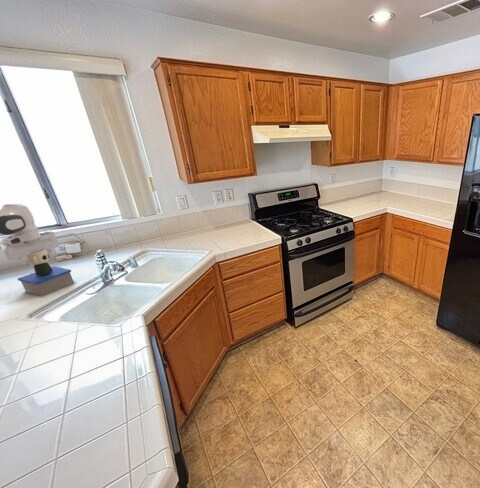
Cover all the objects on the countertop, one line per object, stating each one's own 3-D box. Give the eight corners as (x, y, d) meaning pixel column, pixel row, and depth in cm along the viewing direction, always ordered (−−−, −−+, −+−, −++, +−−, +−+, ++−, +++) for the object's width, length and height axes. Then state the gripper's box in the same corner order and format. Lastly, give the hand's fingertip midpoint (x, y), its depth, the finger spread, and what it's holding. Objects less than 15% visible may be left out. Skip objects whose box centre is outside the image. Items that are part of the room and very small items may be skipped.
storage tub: (41, 296, 133) (34, 282, 130) (24, 292, 137) (17, 278, 134) (76, 282, 146) (70, 269, 143) (59, 279, 151) (53, 266, 148)
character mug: (51, 275, 136) (41, 252, 132) (32, 279, 133) (21, 256, 128) (56, 268, 145) (47, 246, 140) (38, 271, 141) (28, 249, 136)
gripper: (49, 229, 141) (58, 253, 146) (-6, 241, 123) (7, 268, 128) (56, 230, 139) (66, 254, 144) (2, 242, 121) (15, 269, 126)
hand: (38, 261), depth 136 cm, fingers open, 8 cm apart
